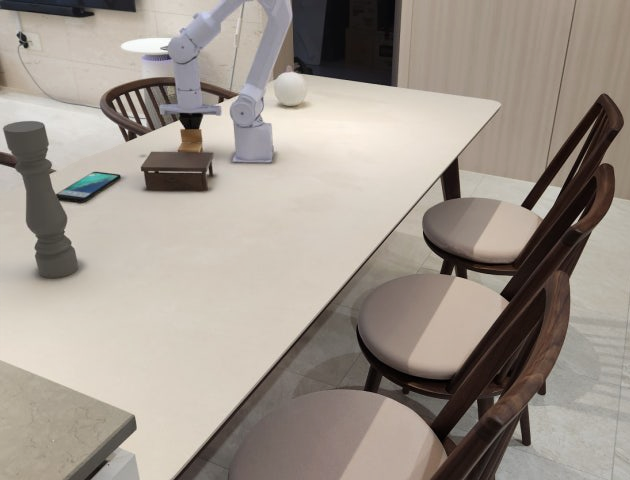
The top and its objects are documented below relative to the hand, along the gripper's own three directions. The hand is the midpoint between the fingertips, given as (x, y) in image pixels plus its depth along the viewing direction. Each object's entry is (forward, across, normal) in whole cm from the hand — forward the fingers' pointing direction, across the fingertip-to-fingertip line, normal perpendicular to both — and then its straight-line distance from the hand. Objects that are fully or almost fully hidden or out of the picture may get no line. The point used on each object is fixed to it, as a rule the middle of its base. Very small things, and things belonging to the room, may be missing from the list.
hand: (194, 142), depth 159 cm
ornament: (+3, -22, -47) cm, 52 cm away
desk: (+3, 0, +19) cm, 19 cm away
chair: (+3, 0, +5) cm, 6 cm away
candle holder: (+3, +13, +59) cm, 61 cm away
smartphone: (+3, +19, +23) cm, 30 cm away
